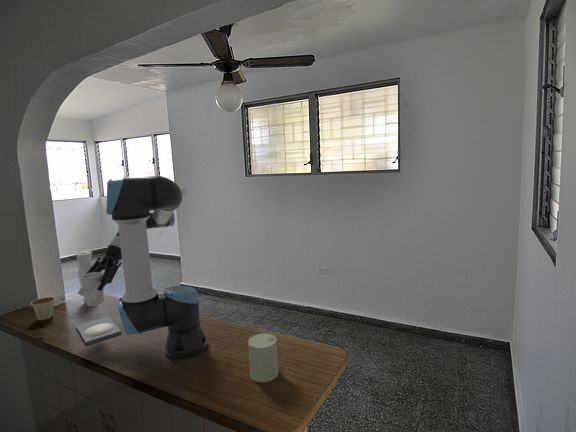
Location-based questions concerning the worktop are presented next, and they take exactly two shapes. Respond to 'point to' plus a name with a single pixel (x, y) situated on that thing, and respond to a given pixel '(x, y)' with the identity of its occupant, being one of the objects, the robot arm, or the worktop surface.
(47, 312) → the flower pot
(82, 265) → the skyscraper
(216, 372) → the worktop surface
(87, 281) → the cup
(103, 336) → the board
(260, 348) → the can
